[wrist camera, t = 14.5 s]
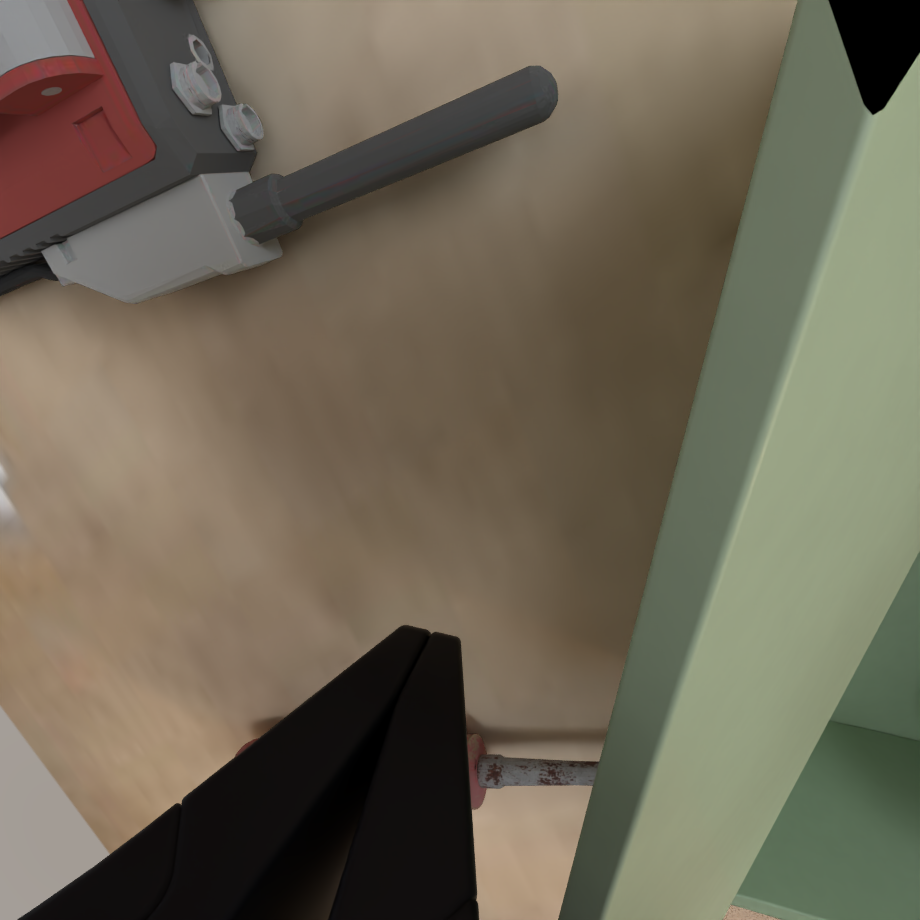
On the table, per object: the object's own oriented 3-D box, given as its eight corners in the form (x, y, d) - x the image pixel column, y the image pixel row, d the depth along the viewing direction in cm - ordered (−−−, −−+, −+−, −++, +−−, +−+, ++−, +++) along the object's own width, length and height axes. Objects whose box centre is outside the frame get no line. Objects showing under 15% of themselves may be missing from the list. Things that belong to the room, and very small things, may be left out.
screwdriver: (865, 704, 18) (904, 795, 15) (869, 768, 19) (906, 863, 17) (242, 714, 27) (201, 773, 24) (269, 757, 28) (233, 818, 25)
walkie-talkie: (16, 360, 20) (576, 145, 13) (-124, 407, 17) (554, 141, 9) (-163, 83, 17) (449, -407, 10) (-387, 62, 13) (337, -755, 6)
